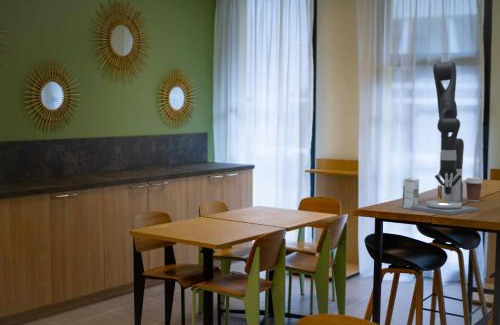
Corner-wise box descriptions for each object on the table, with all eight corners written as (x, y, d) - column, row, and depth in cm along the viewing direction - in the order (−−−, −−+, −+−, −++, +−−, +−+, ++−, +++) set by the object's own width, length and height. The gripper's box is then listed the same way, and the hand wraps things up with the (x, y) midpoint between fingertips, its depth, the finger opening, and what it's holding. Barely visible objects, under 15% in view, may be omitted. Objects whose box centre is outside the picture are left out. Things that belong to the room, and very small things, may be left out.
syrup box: (407, 206, 326) (408, 177, 325) (418, 208, 322) (419, 178, 321) (402, 208, 322) (402, 178, 321) (413, 209, 318) (414, 179, 317)
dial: (465, 209, 305) (465, 189, 304) (430, 208, 306) (430, 189, 306) (455, 203, 325) (455, 185, 324) (422, 203, 326) (422, 185, 326)
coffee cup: (483, 201, 348) (484, 179, 347) (465, 201, 350) (466, 178, 349) (481, 199, 357) (481, 177, 356) (463, 199, 359) (464, 177, 358)
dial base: (438, 206, 329) (438, 202, 329) (477, 211, 312) (477, 207, 312) (409, 209, 316) (409, 206, 316) (449, 215, 298) (449, 211, 298)
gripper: (459, 158, 326) (459, 193, 327) (432, 158, 326) (432, 193, 328) (464, 159, 318) (463, 195, 320) (436, 159, 319) (435, 195, 320)
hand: (447, 194), depth 324 cm, fingers closed
